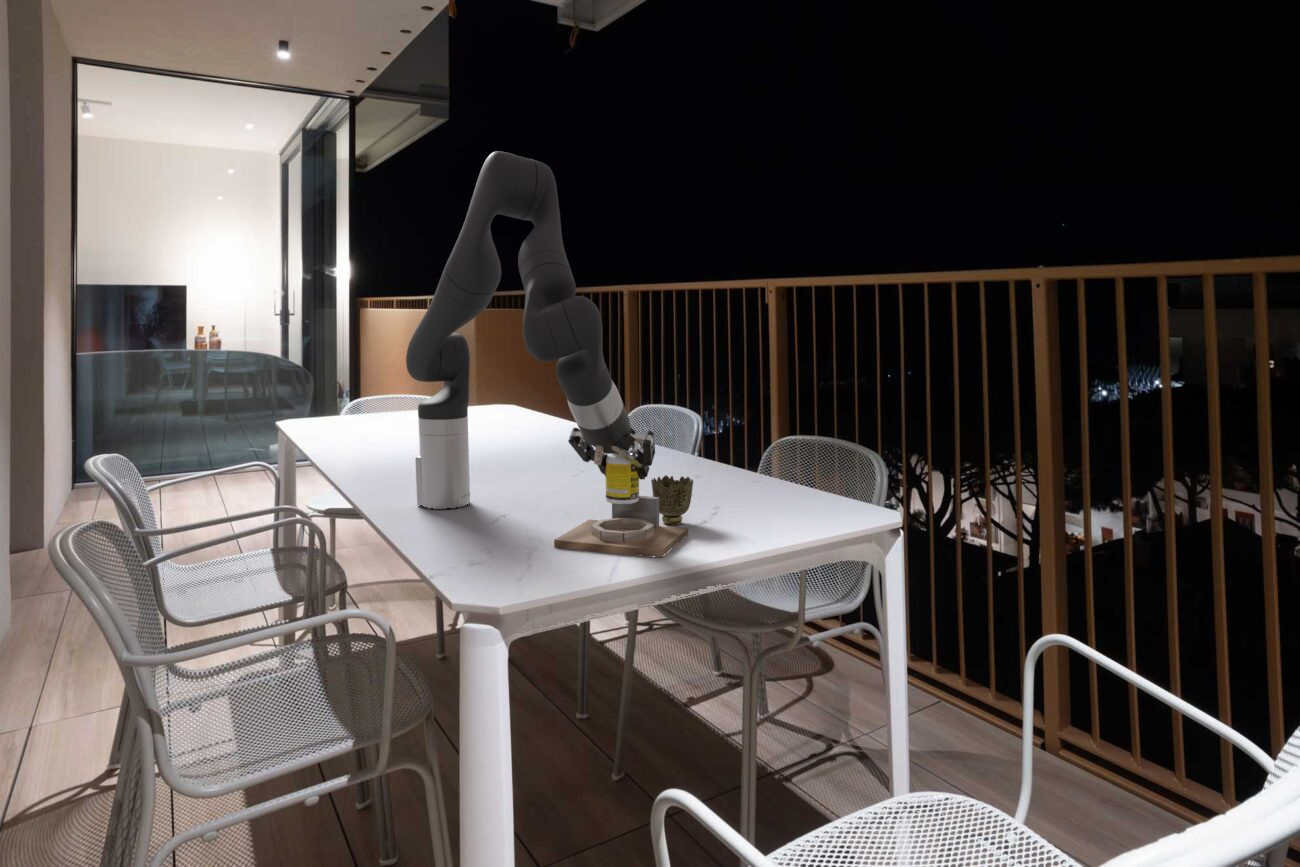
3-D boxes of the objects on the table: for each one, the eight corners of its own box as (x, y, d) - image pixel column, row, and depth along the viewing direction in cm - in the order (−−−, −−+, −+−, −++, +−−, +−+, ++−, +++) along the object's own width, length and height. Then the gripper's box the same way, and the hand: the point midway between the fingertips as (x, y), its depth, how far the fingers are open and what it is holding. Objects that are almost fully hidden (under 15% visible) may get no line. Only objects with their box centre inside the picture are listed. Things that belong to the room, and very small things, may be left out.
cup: (698, 520, 147) (698, 476, 146) (686, 530, 140) (686, 484, 139) (658, 516, 150) (659, 474, 149) (645, 526, 143) (645, 481, 142)
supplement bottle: (635, 505, 129) (635, 444, 128) (602, 504, 130) (601, 443, 129) (642, 498, 134) (642, 439, 133) (610, 497, 135) (610, 438, 134)
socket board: (554, 547, 130) (553, 509, 129) (589, 526, 143) (589, 491, 142) (661, 558, 124) (661, 518, 123) (687, 535, 137) (688, 499, 136)
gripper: (649, 390, 120) (673, 457, 133) (561, 387, 125) (592, 453, 138) (637, 430, 116) (663, 496, 129) (546, 425, 121) (579, 490, 134)
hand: (626, 473), depth 133 cm, fingers closed on supplement bottle, 5 cm apart
